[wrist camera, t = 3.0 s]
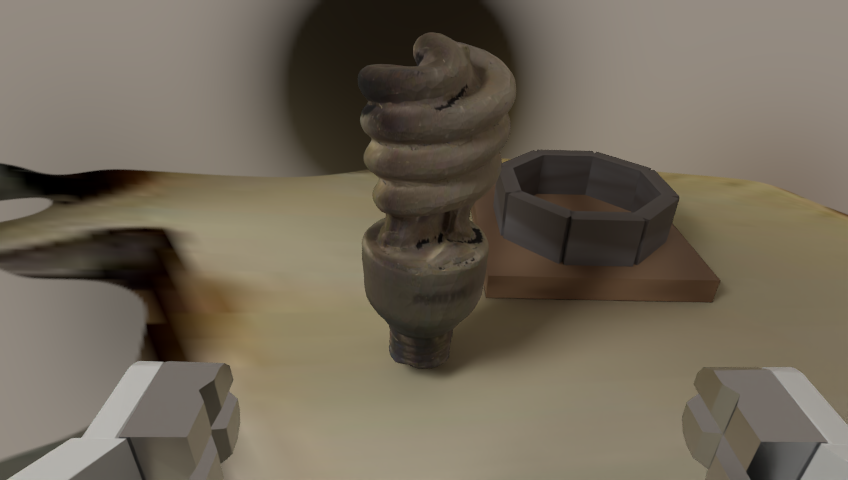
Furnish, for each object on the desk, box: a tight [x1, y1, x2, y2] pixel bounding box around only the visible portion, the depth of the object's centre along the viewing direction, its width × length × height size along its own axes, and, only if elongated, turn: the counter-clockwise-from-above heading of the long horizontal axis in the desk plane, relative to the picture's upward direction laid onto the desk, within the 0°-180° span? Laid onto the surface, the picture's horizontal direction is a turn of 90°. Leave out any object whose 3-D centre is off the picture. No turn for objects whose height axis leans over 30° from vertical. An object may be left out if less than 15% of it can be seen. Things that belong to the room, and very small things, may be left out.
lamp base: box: [471, 150, 720, 302], centre depth 35 cm, size 13×13×4 cm
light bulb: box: [358, 32, 516, 368], centre depth 22 cm, size 6×6×15 cm
